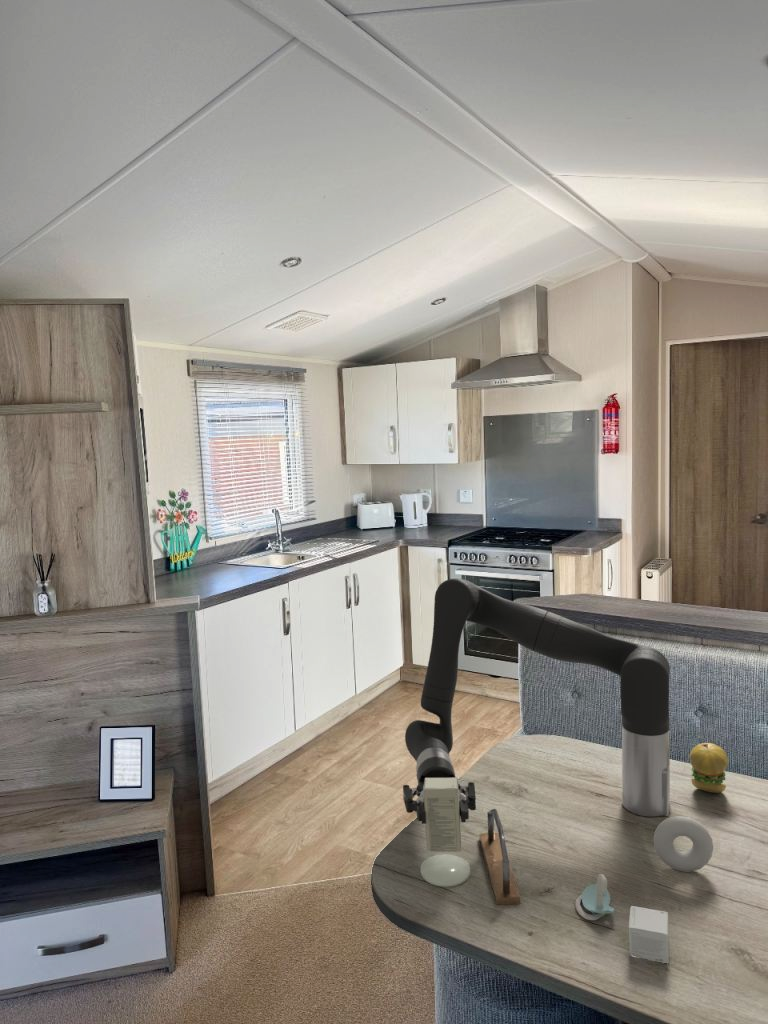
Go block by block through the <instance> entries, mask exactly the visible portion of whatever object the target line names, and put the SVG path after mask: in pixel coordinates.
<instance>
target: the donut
mask: <svg viewBox="0 0 768 1024" xmlns="http://www.w3.org/2000/svg"><path fill="white" fill-rule="evenodd" d="M653 835H654V836H653V846H654V850H655V852H656V854H657V856H658V858H659V859H660V860H661V861H662V862H663V863H664V864H665V865H666V866H667V867H669V868H672V870H676V871H680V872H684V873H685V872H687V873H689V872H692V873H693V872H696V871H699V870H701V869H702V868H703V867H704V866H706V865H707V864H708V863H709V861H710V860H711V858H712V857H713V852H714V843H713V842H714V841H713V838H712V836H711V834H710V833H709V831H708V828H706V827H705V826H704V824H702V823H701V822H700V821H698V820H696V819H694V818H692V817H688V816H684V815H676V816H675V815H674V816H671V817H668V818H666V819H664V820H662V822H660V823H659V824H658V825H657V827H656V829H655V831H654V834H653ZM678 837H679V838H680V837H687V838H688V839H690V841H691V842H692V847H691V848H690V849H689V850H683V851H682V850H679V849H677V848H676V847H675V845H674V842H675V840H676V839H677V838H678Z"/></svg>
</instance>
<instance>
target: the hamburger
mask: <svg viewBox="0 0 768 1024" xmlns="http://www.w3.org/2000/svg"><path fill="white" fill-rule="evenodd" d="M689 761H690V765H691V772H692V773H691V776H692V778H691V784H692V785H693V786H694V788H696V789H697V790H701V791H703V792H707V793H712V794H713V793H714V794H715V793H716V794H720V793H722V792H725V790H726V788H727V785H726V784H724V783H723V782H724V781H726V769H727V768H728V765H729V758H728V755H727V753H726V750H724V749H723V748H722V747H721V746H719V745H717V744H715V743H712V742H711V743H710V742H702V743H698V744H696V745H695V746H694V747H692V749H691V750H690V753H689Z"/></svg>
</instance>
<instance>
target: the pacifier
mask: <svg viewBox="0 0 768 1024" xmlns="http://www.w3.org/2000/svg"><path fill="white" fill-rule="evenodd" d="M607 888H608V879H607V878H606V876H605V875H604V874H602V873H599V874H598V875H597V878H596V882H595V883H592V884H590V885H588V886H587V887H585V888H584V890H583V892H582V894H581V895H579V896H578V897H577V898H576V899H575V903H574V905H575V909H576V911H577V913H578V914H579V916H580V917H582V918H583V919H585V920H587V921H597V920H598V919H600V918H602V917H603V918H604V917H605V916H606V915H608V914H613V913H615V909H614V907H612V906H610V903H611V894H610V892H609V891H608V889H607ZM581 904H582V906H583V907H584V908H585V909H586V910H587V911H589V912H591V913H592V914H590V913H587V912H586V911H585V910H584V909H583V908H582V906H581Z"/></svg>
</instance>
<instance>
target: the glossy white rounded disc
mask: <svg viewBox="0 0 768 1024" xmlns="http://www.w3.org/2000/svg"><path fill="white" fill-rule="evenodd" d="M420 875H421V877H422V879H423V880H424V881H425V882H427V883H428V884H431V885H432V886H437V887H443V888H452V887H456V886H459V885H461V884H463V883H465V882H466V881H467V880H468V879H469V878H470V876H471V866H470V865H469V863H468V862H467V861H466V860H465V859H463V858H462V857H460V856H458V855H457V856H456V855H453V854H438V855H433V856H430V857H428V858H426V859H425V860H424V861H423V862H422V864H421V865H420Z"/></svg>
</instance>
